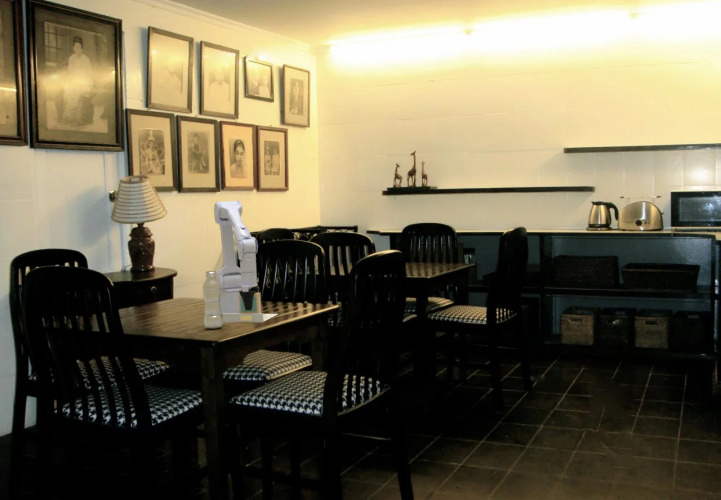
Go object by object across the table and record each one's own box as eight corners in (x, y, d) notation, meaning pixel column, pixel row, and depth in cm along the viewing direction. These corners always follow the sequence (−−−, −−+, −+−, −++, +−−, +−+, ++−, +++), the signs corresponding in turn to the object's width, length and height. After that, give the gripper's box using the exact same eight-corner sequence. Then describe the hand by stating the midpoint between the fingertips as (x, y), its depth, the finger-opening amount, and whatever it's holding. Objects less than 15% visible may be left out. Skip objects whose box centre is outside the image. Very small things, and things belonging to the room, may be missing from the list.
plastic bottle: (214, 326, 260) (212, 270, 259) (227, 327, 256) (224, 271, 255) (200, 329, 255) (197, 272, 254) (212, 330, 251) (209, 272, 250)
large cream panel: (222, 323, 265) (222, 313, 265) (241, 315, 283) (241, 306, 282) (262, 323, 262) (261, 313, 262) (278, 315, 280) (278, 306, 279)
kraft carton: (242, 314, 271) (241, 293, 271) (261, 313, 271) (260, 292, 270) (239, 316, 266) (238, 294, 266) (258, 316, 266) (257, 294, 265)
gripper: (241, 270, 275) (243, 306, 276) (233, 274, 260) (235, 312, 261) (260, 269, 274) (262, 305, 275) (252, 273, 260) (254, 311, 261)
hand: (250, 308), depth 268 cm, fingers closed on kraft carton, 5 cm apart
